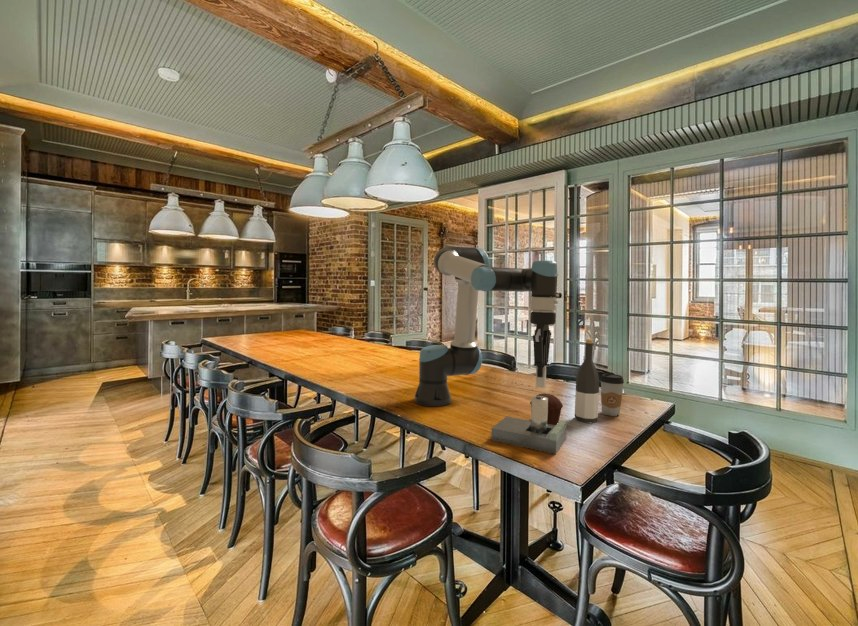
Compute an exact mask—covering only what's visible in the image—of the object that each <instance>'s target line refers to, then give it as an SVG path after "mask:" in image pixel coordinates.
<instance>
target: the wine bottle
mask: <svg viewBox="0 0 858 626" xmlns="http://www.w3.org/2000/svg"><path fill="white" fill-rule="evenodd" d="M584 344H585V349H584V350H585V352H584V354H585V356H584V360H583V362H582V363H581V364H580V367H579V368H578V370H577V374H576V377H575V397H574V400H575V401H574V419H575V420H576V421H578V422H581V423H586V424H587V423H588V424H590V423H591V424H593V423H594V424H595V423H596V422H598V419H599V418H598V417H599V398H600V397H599V396H600V377H599V373H598V370H597V367H596V365H595V363H594V362H593V345H594V343H593V339H592V338H586V340H585V343H584Z"/></svg>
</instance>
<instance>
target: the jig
mask: <svg viewBox="0 0 858 626" xmlns="http://www.w3.org/2000/svg"><path fill="white" fill-rule="evenodd" d="M567 424H568V421H567V420H563V419H561V420H560V419H559V422H558V424H557V425H551V424H547V435H546V434H541V433H535V432H530V430H531V420H529V419H523V418H518V417H511V416H505V417H504V418H502V419H501V420H499V422H497V423H496V424H495V425H494V426H493V427H491V430H490V431H491V433H490V435H491V436H490V440H492V441H491V442H496V441H497V443H500V442H502V444H505V443H507V444H506V445H510V444H512V445H511V446H514V445H517V446H516V447H519V446H522V447H521V448H523V447H527V448H526V449H528V448H531V449H530V450H533V449H535V450H534V451H537V450H540V451H539V452H542V451H545V452H544V453H547V452H548V454H551V453H553V454H552V455H557V454H558V453H559V451H560V449H561V448H560V447H562V446H563V445H564V443H565V442H566V440H567V426H568V425H567ZM558 450H559V451H558ZM556 453H557V454H556Z"/></svg>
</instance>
